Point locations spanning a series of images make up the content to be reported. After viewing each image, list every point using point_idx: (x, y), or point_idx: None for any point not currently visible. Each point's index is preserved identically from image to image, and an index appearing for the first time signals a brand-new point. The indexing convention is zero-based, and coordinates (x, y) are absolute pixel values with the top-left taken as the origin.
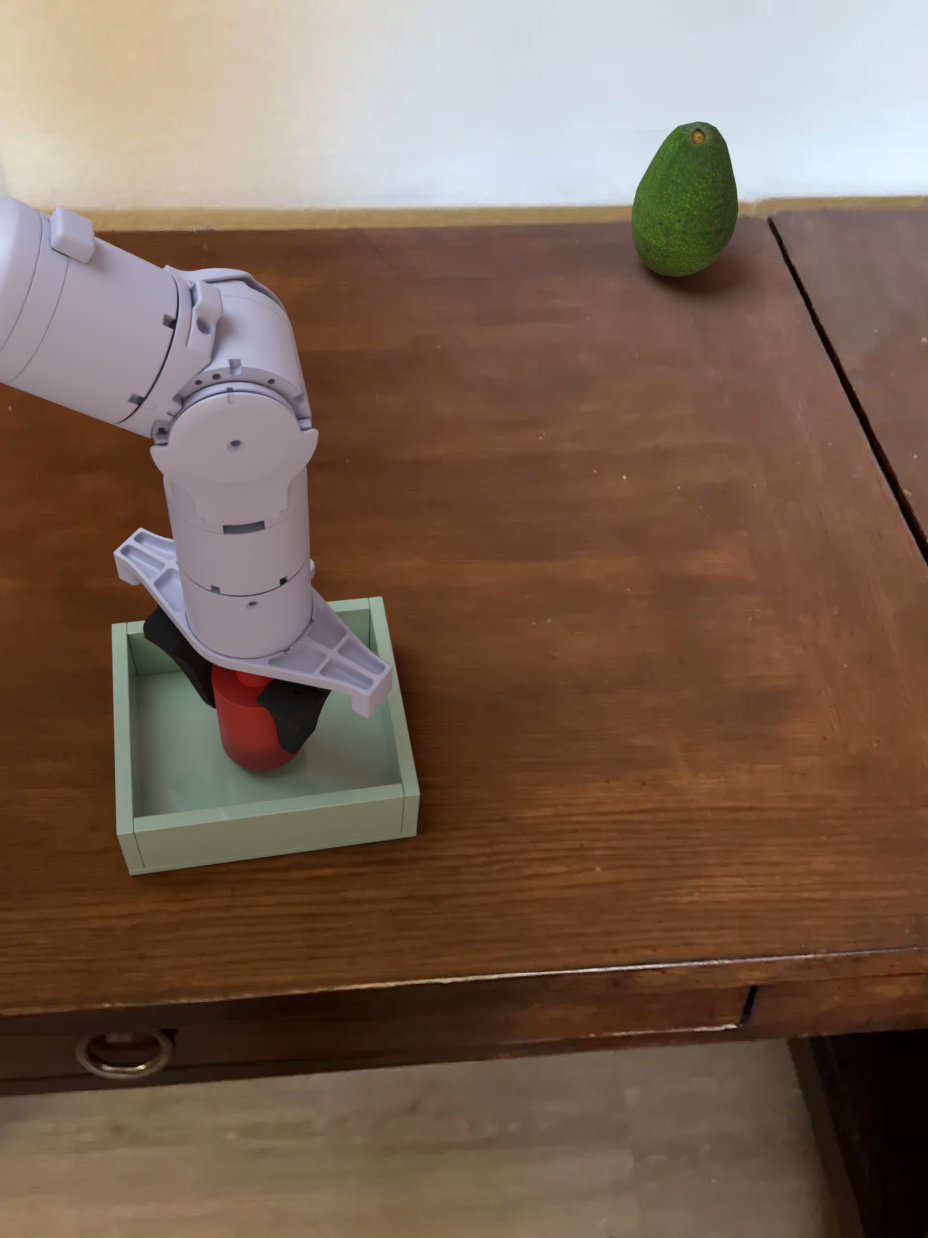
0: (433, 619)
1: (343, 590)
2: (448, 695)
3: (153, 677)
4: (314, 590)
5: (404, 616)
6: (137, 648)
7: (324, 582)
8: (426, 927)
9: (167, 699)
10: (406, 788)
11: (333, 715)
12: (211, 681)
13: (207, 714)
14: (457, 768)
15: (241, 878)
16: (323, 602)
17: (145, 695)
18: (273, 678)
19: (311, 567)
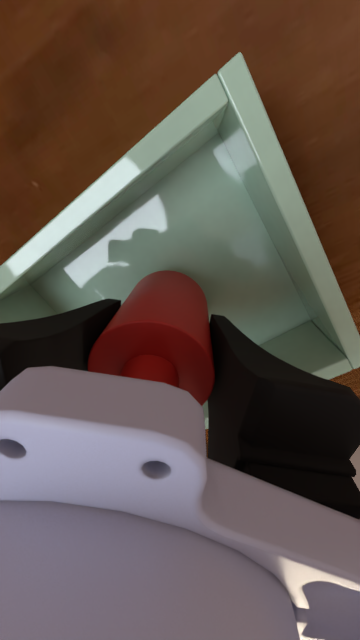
0: (283, 5)
1: (137, 27)
2: (329, 147)
3: (43, 280)
4: (266, 551)
5: (238, 28)
6: (4, 297)
7: (106, 26)
8: (344, 375)
9: (70, 295)
10: (354, 361)
11: (215, 245)
12: None
13: (109, 294)
14: (353, 240)
15: None
16: (325, 576)
17: (52, 299)
18: (179, 381)
19: (196, 480)
